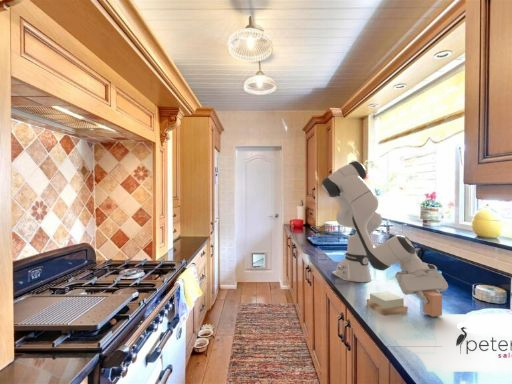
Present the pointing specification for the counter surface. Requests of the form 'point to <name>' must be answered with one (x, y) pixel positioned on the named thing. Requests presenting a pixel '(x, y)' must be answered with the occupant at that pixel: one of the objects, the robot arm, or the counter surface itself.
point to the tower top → (386, 299)
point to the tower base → (387, 309)
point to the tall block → (433, 304)
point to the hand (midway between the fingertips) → (433, 302)
